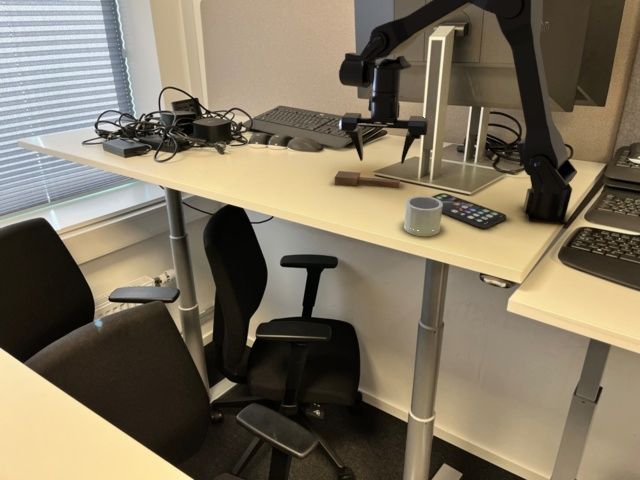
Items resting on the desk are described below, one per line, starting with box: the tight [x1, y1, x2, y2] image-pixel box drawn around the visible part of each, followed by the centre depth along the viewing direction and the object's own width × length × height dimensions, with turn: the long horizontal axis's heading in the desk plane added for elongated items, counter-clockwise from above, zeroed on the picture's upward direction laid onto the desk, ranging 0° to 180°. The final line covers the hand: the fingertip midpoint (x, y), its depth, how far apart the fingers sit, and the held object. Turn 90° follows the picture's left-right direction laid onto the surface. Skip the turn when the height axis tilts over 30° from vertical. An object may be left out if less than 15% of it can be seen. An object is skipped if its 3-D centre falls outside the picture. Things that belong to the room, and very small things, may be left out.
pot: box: [403, 195, 443, 237], centre depth 82 cm, size 6×6×5 cm
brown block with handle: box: [334, 170, 401, 189], centre depth 103 cm, size 14×4×2 cm, turn 76°
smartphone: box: [431, 192, 507, 229], centre depth 89 cm, size 7×1×15 cm
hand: (381, 161), depth 105 cm, fingers open, 9 cm apart
